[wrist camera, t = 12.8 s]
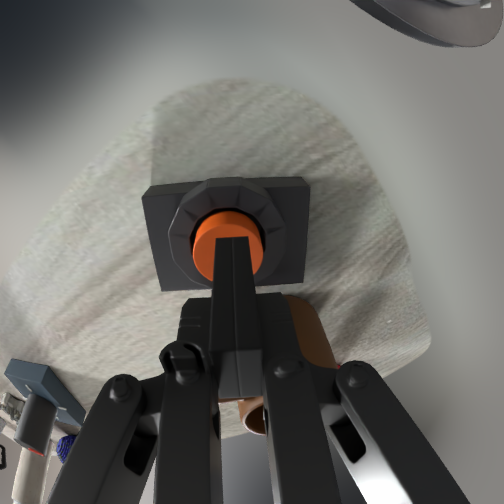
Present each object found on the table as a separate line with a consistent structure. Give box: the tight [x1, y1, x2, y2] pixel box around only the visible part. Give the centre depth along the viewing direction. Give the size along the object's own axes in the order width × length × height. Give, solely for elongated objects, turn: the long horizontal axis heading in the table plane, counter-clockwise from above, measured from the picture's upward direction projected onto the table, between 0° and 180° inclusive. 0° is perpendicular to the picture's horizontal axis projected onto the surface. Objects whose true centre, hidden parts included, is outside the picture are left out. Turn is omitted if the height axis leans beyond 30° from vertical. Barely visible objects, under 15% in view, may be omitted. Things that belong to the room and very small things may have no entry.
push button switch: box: [142, 177, 310, 292], centre depth 18 cm, size 8×10×4 cm
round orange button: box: [193, 211, 263, 281], centre depth 15 cm, size 4×4×2 cm
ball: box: [56, 435, 77, 464], centre depth 37 cm, size 8×8×8 cm
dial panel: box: [4, 359, 86, 427], centre depth 28 cm, size 12×9×3 cm
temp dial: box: [14, 394, 58, 457], centre depth 23 cm, size 5×5×8 cm
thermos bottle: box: [12, 440, 54, 504], centre depth 31 cm, size 8×8×28 cm
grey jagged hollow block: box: [0, 393, 25, 425], centre depth 33 cm, size 11×8×4 cm
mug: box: [218, 295, 338, 436], centre depth 20 cm, size 12×8×9 cm, turn 61°
